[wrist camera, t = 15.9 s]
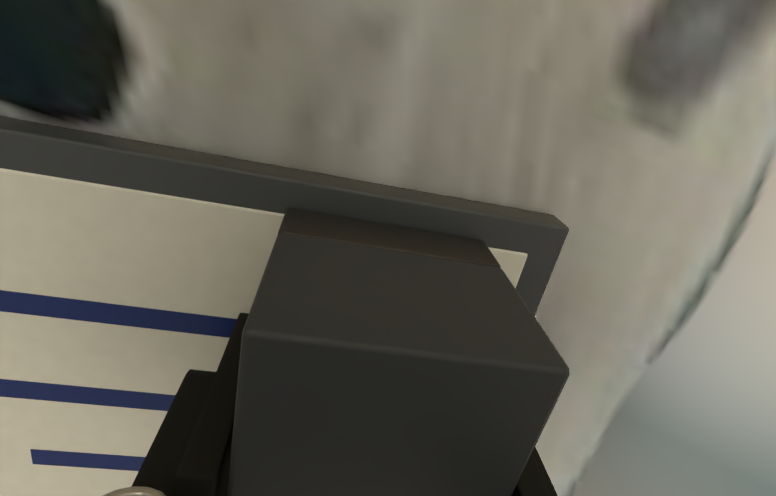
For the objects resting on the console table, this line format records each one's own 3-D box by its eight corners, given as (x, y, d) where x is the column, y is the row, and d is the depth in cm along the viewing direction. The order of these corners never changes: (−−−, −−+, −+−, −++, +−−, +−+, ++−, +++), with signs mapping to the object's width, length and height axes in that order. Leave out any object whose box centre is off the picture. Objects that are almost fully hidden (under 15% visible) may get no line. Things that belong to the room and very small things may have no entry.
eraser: (286, 205, 8) (240, 329, 5) (484, 239, 9) (574, 371, 5) (251, 488, 12) (207, 691, 8) (399, 498, 12) (420, 689, 9)
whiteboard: (-252, 69, 8) (-321, 73, 7) (554, 214, 10) (572, 229, 9) (-98, 499, 12) (-129, 530, 11) (434, 527, 14) (439, 554, 14)
